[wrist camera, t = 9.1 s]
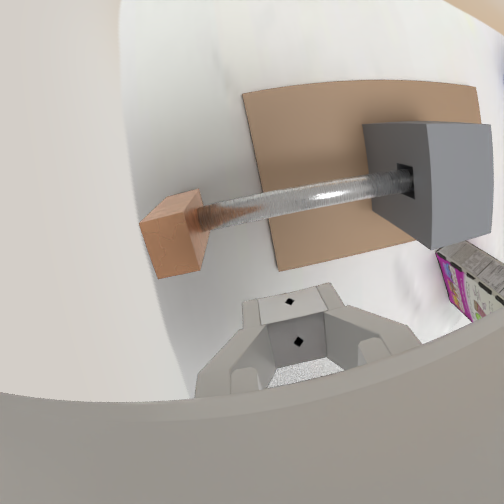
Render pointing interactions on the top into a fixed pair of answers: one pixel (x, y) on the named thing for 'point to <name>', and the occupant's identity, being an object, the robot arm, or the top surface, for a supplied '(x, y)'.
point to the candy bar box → (472, 279)
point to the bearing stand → (374, 164)
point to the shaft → (247, 214)
